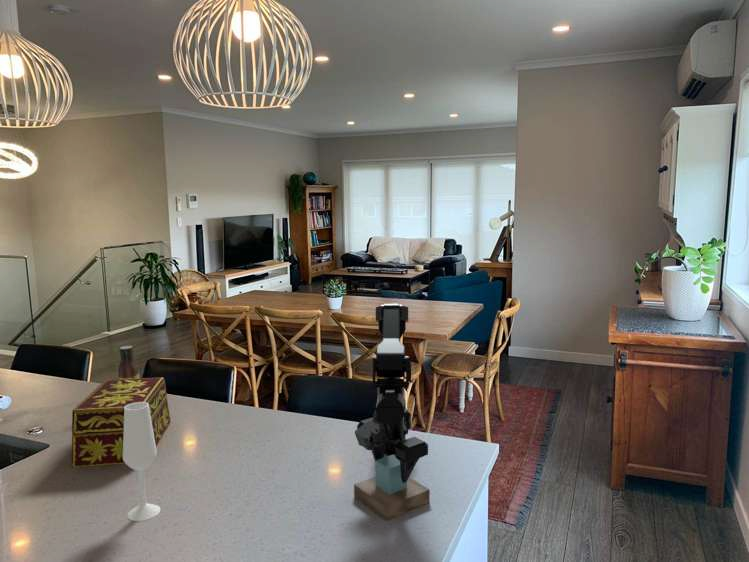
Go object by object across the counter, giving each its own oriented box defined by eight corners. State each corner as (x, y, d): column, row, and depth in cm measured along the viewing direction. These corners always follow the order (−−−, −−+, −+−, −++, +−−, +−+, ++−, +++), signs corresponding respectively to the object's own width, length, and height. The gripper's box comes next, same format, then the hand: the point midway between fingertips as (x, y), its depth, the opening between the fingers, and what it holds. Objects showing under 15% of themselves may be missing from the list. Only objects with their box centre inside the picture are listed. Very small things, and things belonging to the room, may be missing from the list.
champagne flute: (163, 502, 126) (156, 399, 122) (157, 519, 119) (149, 410, 116) (131, 505, 124) (123, 401, 121) (123, 522, 118) (115, 412, 115)
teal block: (392, 479, 129) (392, 454, 128) (406, 487, 125) (406, 462, 124) (375, 485, 126) (375, 460, 125) (389, 494, 122) (389, 468, 121)
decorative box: (107, 426, 170) (103, 378, 168) (171, 422, 172) (168, 375, 170) (71, 468, 143) (66, 412, 141) (147, 463, 145) (144, 407, 143)
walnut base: (395, 481, 134) (395, 469, 134) (429, 502, 125) (429, 489, 124) (354, 496, 127) (354, 484, 127) (386, 520, 118) (386, 506, 117)
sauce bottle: (138, 400, 192) (134, 343, 189) (145, 404, 187) (141, 346, 185) (118, 404, 188) (113, 346, 185) (124, 409, 183) (120, 350, 180)
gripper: (336, 402, 126) (338, 468, 128) (387, 429, 111) (388, 503, 113) (377, 392, 132) (377, 455, 135) (430, 416, 117) (429, 486, 120)
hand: (391, 474), depth 125 cm, fingers open, 9 cm apart
